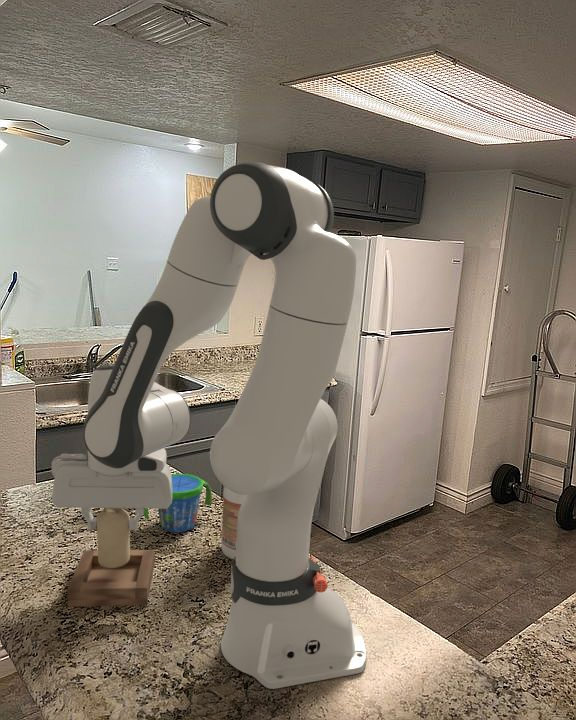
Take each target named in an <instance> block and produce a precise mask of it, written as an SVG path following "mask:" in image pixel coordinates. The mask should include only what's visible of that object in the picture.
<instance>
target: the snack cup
mask: <svg viewBox="0 0 576 720" xmlns="http://www.w3.org/2000/svg"><path fill="white" fill-rule="evenodd" d="M171 477H172V487H173V497H172V503H171V505H170V506H169V507H168V508H166V509H157V510H158V518H159V524H160V526H161V529H162V530H164V531H167V532H170V533H176V534H178V533H184V532H187V531H189V530H193V529H194V527H195V525H196V520H197V517H198V513H199V512H198V511H199V504H200V498H201V493H202V492H203V489H204V486H205V498H204V504H205V505H206V506H211V505H212V501H213V493H212V488H211V486H210V484H209V483H208V482H206V481H205V480H203V479H202V478H200V477H199V476H196V475H193V474H187V473H173V474H172V473H171ZM143 517H144V518H145V519H146V520H147V521H149V520H150V516H149V508H145V510H144V514H143Z"/></svg>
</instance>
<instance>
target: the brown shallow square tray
mask: <svg viewBox="0 0 576 720" xmlns="http://www.w3.org/2000/svg"><path fill="white" fill-rule="evenodd" d="M76 566H77V567H76V568H75V571H74V573H73V576H72V578H71V580H70V583H69V585H68V588H67V607H69V608H70V607H71V608H72V607H73V608H74V607H75V608H76V607H116V606H115V605H130V606H148V601H149V596H150V591H151V585H152V580H153V574H154V570H155V549H130V560H129V561H128V563H126V564H125V565H123V566H121V567H117V568H105V567H102V566H101V565H100V564H99V562H98V549H97V550H96V549H95V550H94V549H93V550H90V549H89V550H87V549H86V550H83V552H82V554H81V556H80V558H79V562H78V564H77V565H76Z"/></svg>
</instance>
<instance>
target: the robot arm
mask: <svg viewBox="0 0 576 720" xmlns="http://www.w3.org/2000/svg"><path fill="white" fill-rule="evenodd" d="M334 217H335V211H334V205H333V203H332V199H331V198H330V196H329V194H328V193H327V191H326V190H325V189H324V188H323V187H322V186H321V185H320V184H318V183H317V182H316V181H314V180H313V179H310V178H307V177H304V176H301V175H299V174H298V173H297V172H296V171H293V170H292V169H288V168H285V167H281V166H276V165H269V164H266V163H264V162H259V161H249V162H248V161H247V162H241V163H238V164H234V165H233V166H230V167H228V168H227V169H225V170H224V171H223V172H222V173H221V174H220V175H219V176H218V178H217V179H216V180H215V183H214V184H213V187H212V190H211V192H210V196H209V195H208V196H203V197H200V198H198V199H196V200H195V201H193V203H192V204H191V205H190V206H189V208H188V210H187V212H186V214H185V216H184V218H183V219H182V221H181V223H180V225H179V228H178V230H177V232H176V235H175V237H174V239H173V243H172V245H171V248H170V251H169V254H168V255H167V256H168V257H167V260H166V262H165V266H164V269H163V272H162V274H161V277H160V279H159V281H158V283H157V285H156V287H155V289H154V291H153V292H152V294H151V296H150V298H149V299H148V300H147V302H146V304H145V305H144V306H142V308H141V310H140V311H139V312H138V314H137V315H136V317H135V319H134V320H133V322H132V325H130V328H129V331H128V333H127V335H126V337H125V339H124V342H123V344H122V347H121V349H120V352H119V353H118V356H117V358H116V361H115V362H114V363H109V364H105V365H100V366H98V367H96V369H94V371H93V372H92V374H91V377H90V380H89V388H88V398H87V399H88V400H87V414H86V417H85V420H84V423H83V429H82V436H83V442H84V445H85V447H86V449H87V453H73V454H72V453H70V454H69V453H67V452H66V453H61V454H60V455H57V456H56V457H54V458H53V460H52V461H51V474H52V476H53V478H54V479H53V485H52V493H51V502H52V504H53V505H54V506H55V508H59V509H60V508H73V509H74V508H77V509H79V508H80V509H81V512H80V513H81V515H82V516H83V518H84V520H85V521H86V522H87V530H88V531H97V520H96V518H97V516H96V517H94V515H93V513H92V512H91V510H92V509H104V508H123V509H135V511H134V513H135V516H134V517H129V528H128V530H129V531H130V532H131V531H132V532H133V531H134V532H137V531H138V527H139V521H140V519H141V518H142V517H143V516H144V510H145V508H148V509H150V510H151V509H155V510H156V509H157V510H158V509H166V508H168V507H169V506H170V505H171V503H172V497H173V487H172V477H171V474H172V473H171V472H172V471H171V468H170V466H169V465H168V463H167V459H168V457H167V450H166V449H165V448H166V447H169V446H171V445H174V444H176V443H177V442H179V441H182V440H183V439H184V438H185V437H186V436H187V434H188V433H189V430H190V427H191V422H192V419H191V415H192V414H191V410H190V406H189V404H188V403H187V401H186V399H185V397H184V396H182V394H181V393H180V392H178V391H176V390H174V389H170V388H167V387H164V386H163V385H161V384H159V383H157V382H156V379H157V377H158V375H159V372H160V370H161V368H162V366H163V364H164V363H165V361H166V360H167V358H169V356H170V355H171V354H172V353H173V352H175V350H177V349H178V348H179V347H181V346H182V345H183V344H185V343H187V342H188V341H189V340H191V339H193V338H195V337H196V336H199V335H200V334H202V333H204V332H206V331H208V330H210V329H212V328H213V327H215V326H216V325H217V324H219V323H220V322H221V321H222V320H223V318H224V317H225V315H226V313H227V311H229V309H230V306H231V305H232V303H233V300H234V298H235V295H236V293H237V289H238V286H239V283H240V280H241V277H242V274H243V270H244V267H245V265H246V263H247V261H248V259H249V258H250V256H251V255H252V256H254V257H256V258H257V259H259V260H261V261H265V260H269V259H270V260H271V261H272V263H273V266H274V271H275V274H274V275H275V277H274V284H273V288H272V293H271V298H270V303H269V307H268V311H267V316H266V321H265V325H264V329H263V334H262V338H261V342H260V347H259V351H258V353H257V357H256V360H255V363H254V366H253V368H252V369H251V372H250V374H249V377H248V379H247V381H246V384H245V386H244V388H243V390H242V392H241V394H240V396H239V398H238V401H237V403H236V404H235V407H234V408H233V410H232V412H231V414H230V416H229V417H228V419H227V421H226V422H225V423H224V424H223V426H222V427H221V428H220V430H219V431H218V432H217V433H216V434H215V436H214V438H213V439H212V442H211V445H210V449H209V451H210V452H209V460H210V464H211V468H212V470H213V474H214V476H215V477H216V479H217V480H218V481H219V482H220V483H221V485H223V488H224V487H226V488H227V489H228V490H230V491H232V492H234V493H237V494H240V495H247V496H246V498H245V499H244V501H243V503H242V505H241V507H240V510H239V513H238V520H237V541H236V556H235V557H234V559H232V567H231V569H230V570H231V571H230V594H231V595H230V596H231V604H230V610H229V615H228V619H227V623H226V627H225V630H224V631H223V632H224V633H223V635H222V637H221V641H220V649H221V653H222V655H223V657H224V659H225V660H226V661H227V662H228V663H229V664H230V665H231V666H232V667H234V668H235V669H236V670H238V671H240V672H242V673H244V674H247V675H249V676H252V677H253V678H255V679H256V681H258V682H259V683H260V684H261V685H262V686H263V687H265V688H267V689H271V690H276V689H281V688H287V687H292V686H297V685H303V684H307V683H312V682H313V683H314V682H318V681H323V680H330V679H334V678H340V677H345V676H351V675H355V674H361V673H362V672H364V669H365V668H366V664H367V646H366V643H365V640H364V637H363V634H362V632H361V630H360V628H359V626H357V624H356V622H354V621H353V620H352V618H351V614H350V611H349V609H348V607H347V605H346V603H345V600H343V598H342V596H341V595H339V594H338V593H337V592H336V591H335V590H333V589H331V588H330V587H329V583H328V581H327V578H326V576H325V575H324V574H322V572H321V567H320V565H319V564H318V563H317V561H316V559H315V558H314V556H313V555H310V543H311V534H312V533H311V532H312V521H313V515H314V510H315V506H316V501H317V498H318V494H319V492H320V491H319V490H320V487H321V484H322V480H323V476H324V473H325V472H324V471H325V467H326V463H327V461H328V457H329V454H330V451H331V448H332V446H333V444H334V442H335V440H336V438H337V434H338V429H339V426H338V419H337V416H336V414H335V412H334V410H333V408H332V407H331V406H330V405H329V404H328V402H326V401H325V400H324V399H322V397H323V395H324V393H325V391H326V389H327V388H328V387H329V385H330V384H331V382H332V380H333V379H334V377H335V374H336V370H337V367H338V366H337V365H338V363H339V358H340V355H341V351H342V347H343V344H344V343H343V342H344V338H345V337H346V330H347V327H348V323H349V319H350V314H351V310H352V305H353V299H354V293H355V288H356V287H355V285H356V272H357V255H356V252H355V250H354V248H353V247H352V245H351V243H349V242H348V241H346V239H344V238H343V237H341V236H339V235H337V234H335V233H332V232H331V230H332V227H333V224H334V219H335V218H334ZM309 556H311V558H309Z"/></svg>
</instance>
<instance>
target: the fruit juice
mask: <svg viewBox="0 0 576 720" xmlns="http://www.w3.org/2000/svg"><path fill="white" fill-rule="evenodd" d="M222 496H223V497H222V498H223V499H222V518H221V520H222V521H221V542H220V546H221V551H222V553H223V555H224V556H225V557H227V558H229V559H231V560H234V557H235V556H236V541H237V520H238V513H239V510H240V507H241V505H242V503H243V501H244V499H245V498H246V496H247V495H240V494H237V493H234V492H232V491H230V490H228V489H227V488H226V487H224V486H223V495H222Z"/></svg>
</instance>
